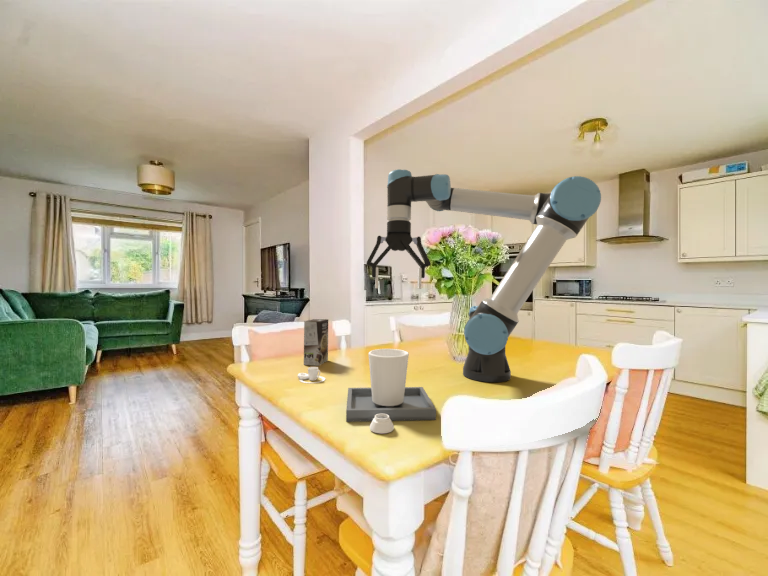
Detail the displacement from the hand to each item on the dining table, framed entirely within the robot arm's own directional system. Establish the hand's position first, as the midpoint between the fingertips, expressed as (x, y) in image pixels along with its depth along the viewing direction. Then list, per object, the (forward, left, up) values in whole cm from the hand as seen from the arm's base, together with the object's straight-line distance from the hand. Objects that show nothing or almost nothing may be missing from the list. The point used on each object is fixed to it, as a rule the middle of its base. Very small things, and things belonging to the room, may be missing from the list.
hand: (398, 288), depth 109 cm
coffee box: (+28, -22, -29) cm, 46 cm away
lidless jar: (+8, +37, -29) cm, 48 cm away
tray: (+5, +25, -29) cm, 38 cm away
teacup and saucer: (+27, -3, -29) cm, 40 cm away
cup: (+5, +25, -28) cm, 38 cm away
